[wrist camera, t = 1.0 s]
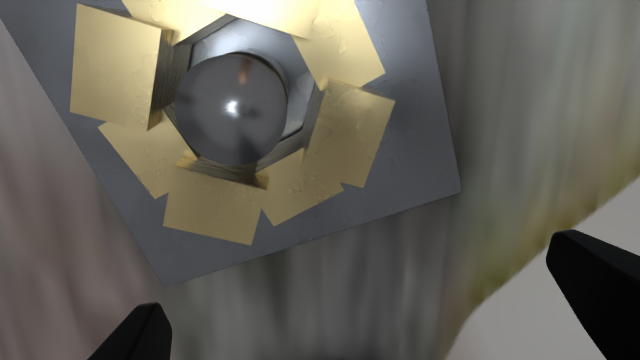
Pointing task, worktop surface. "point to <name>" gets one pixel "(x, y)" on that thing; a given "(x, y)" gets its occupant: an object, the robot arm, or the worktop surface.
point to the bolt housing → (258, 125)
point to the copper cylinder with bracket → (168, 142)
